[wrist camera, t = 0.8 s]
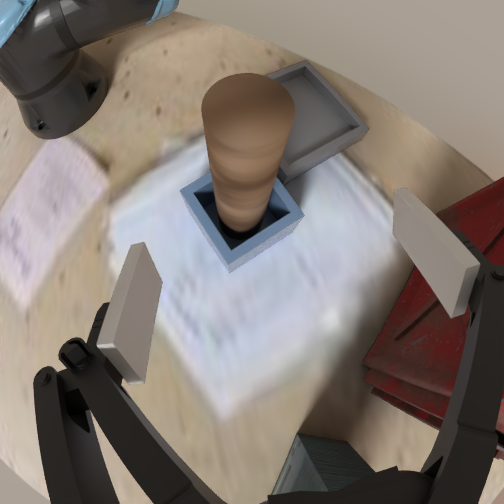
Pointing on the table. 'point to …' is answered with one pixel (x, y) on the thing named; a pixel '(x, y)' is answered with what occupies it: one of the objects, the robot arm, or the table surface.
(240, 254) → the open box
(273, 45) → the table surface
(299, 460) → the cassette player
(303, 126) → the tray
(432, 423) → the jerry can
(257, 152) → the dowel
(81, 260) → the table surface
